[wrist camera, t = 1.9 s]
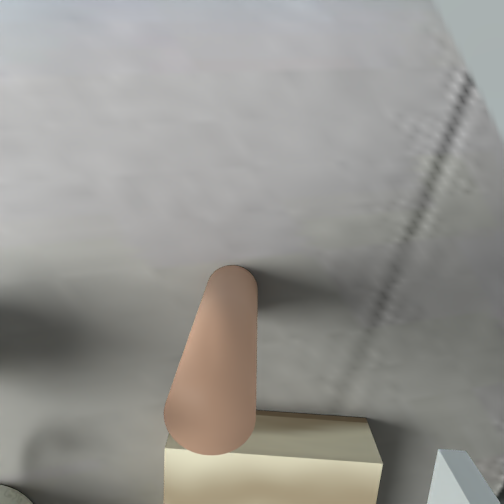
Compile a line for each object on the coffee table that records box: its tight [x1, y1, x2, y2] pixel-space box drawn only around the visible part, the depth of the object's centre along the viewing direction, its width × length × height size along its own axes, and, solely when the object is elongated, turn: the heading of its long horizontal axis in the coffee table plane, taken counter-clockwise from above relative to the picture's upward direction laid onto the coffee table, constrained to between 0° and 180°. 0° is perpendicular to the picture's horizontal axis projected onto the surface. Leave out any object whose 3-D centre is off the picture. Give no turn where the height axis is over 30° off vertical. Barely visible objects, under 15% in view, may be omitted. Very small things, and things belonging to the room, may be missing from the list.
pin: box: [164, 265, 258, 455], centre depth 20 cm, size 3×3×12 cm
